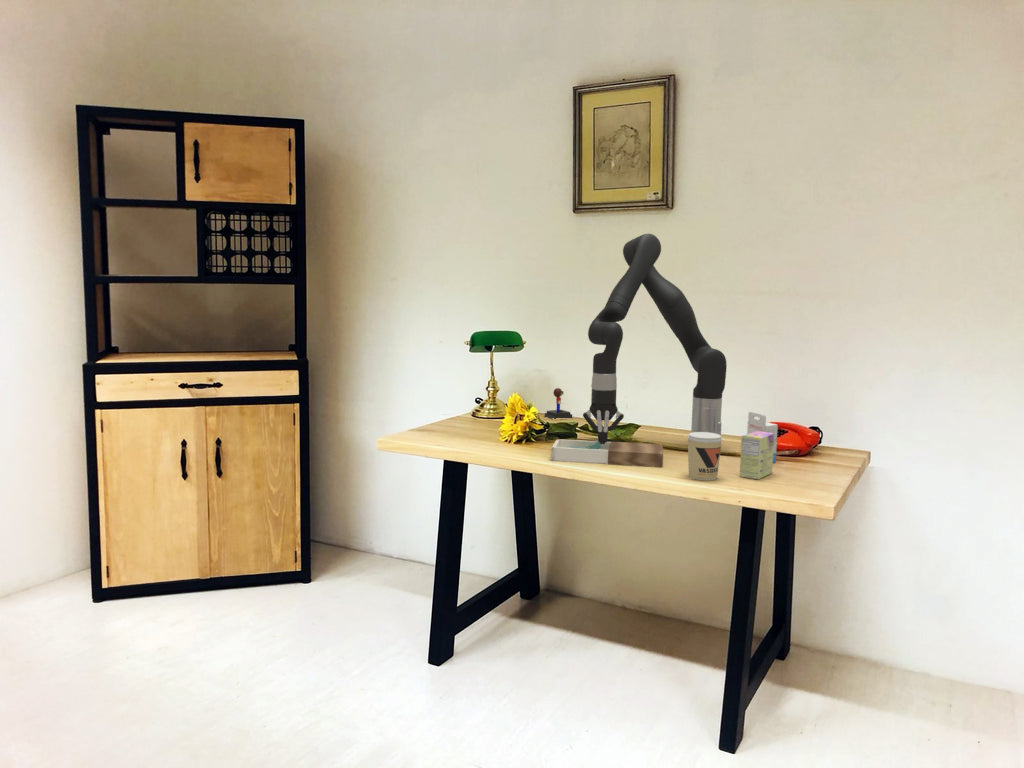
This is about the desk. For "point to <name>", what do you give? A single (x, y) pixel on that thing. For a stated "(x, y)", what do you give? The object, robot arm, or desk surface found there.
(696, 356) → the robot arm
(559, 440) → the tray
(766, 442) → the box
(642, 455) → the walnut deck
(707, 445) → the coffee cup
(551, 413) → the figurine
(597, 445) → the tile
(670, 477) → the desk surface
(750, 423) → the ink box
